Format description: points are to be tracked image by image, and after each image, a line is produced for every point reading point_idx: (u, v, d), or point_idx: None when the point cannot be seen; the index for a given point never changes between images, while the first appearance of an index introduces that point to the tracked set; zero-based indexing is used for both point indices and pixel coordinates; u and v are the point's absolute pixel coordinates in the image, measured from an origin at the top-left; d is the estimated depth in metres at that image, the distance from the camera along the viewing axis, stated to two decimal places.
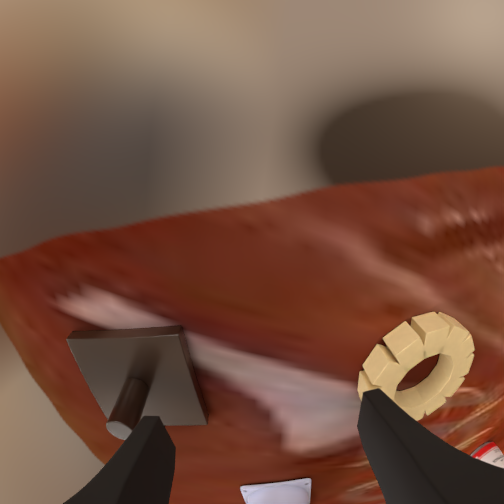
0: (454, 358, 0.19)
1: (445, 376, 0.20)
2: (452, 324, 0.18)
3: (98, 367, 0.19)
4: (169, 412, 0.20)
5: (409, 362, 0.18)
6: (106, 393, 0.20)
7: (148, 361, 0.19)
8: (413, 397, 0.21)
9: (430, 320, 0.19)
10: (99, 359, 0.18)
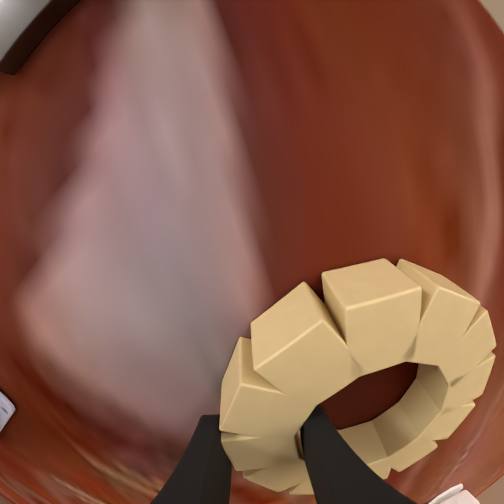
0: (435, 423, 0.09)
1: (381, 448, 0.10)
2: (490, 352, 0.08)
3: None
4: (3, 3, 0.04)
5: (427, 341, 0.07)
6: None
7: None
8: None
9: None
10: None
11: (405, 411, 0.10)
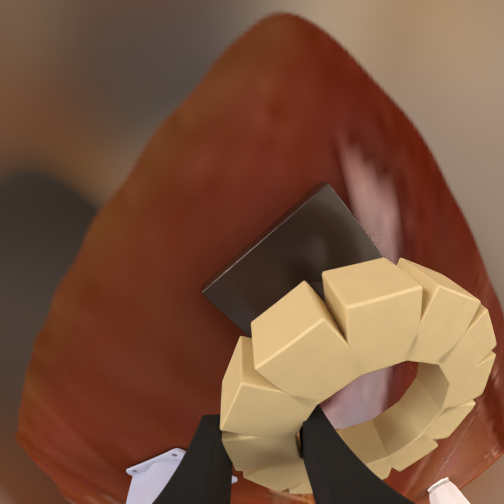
0: (435, 422, 0.09)
1: (381, 448, 0.10)
2: (490, 351, 0.08)
3: (315, 241, 0.16)
4: None
5: (428, 340, 0.07)
6: (270, 268, 0.16)
7: None
8: None
9: None
10: (330, 238, 0.16)
11: (405, 410, 0.10)
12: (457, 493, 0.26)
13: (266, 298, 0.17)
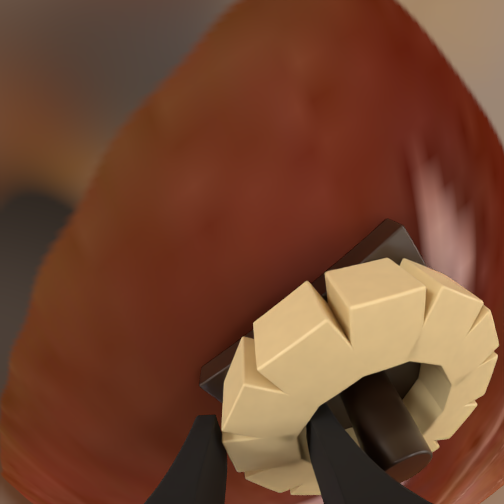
0: (437, 423, 0.08)
1: None
2: (492, 351, 0.08)
3: None
4: None
5: (431, 341, 0.07)
6: None
7: None
8: None
9: None
10: None
11: None
12: None
13: None
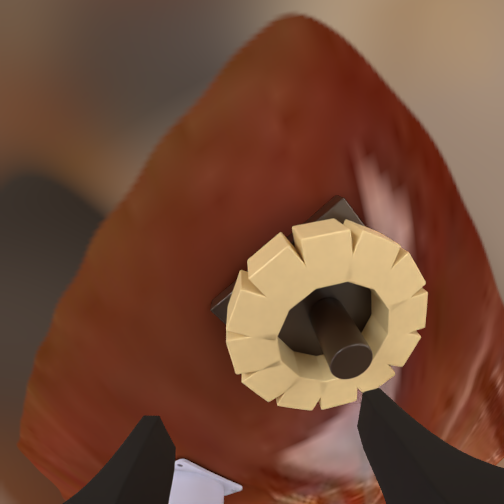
0: (386, 345, 0.14)
1: None
2: (423, 290, 0.14)
3: None
4: None
5: (361, 268, 0.13)
6: None
7: None
8: (288, 357, 0.15)
9: None
10: None
11: None
12: None
13: None
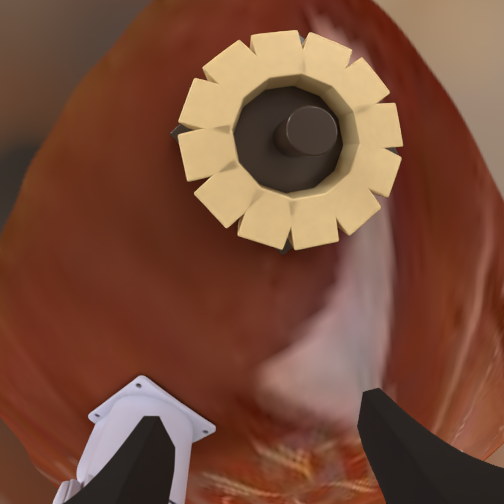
0: (360, 157, 0.13)
1: (320, 191, 0.14)
2: None
3: None
4: None
5: (314, 62, 0.11)
6: None
7: None
8: None
9: None
10: None
11: (338, 168, 0.14)
12: None
13: (238, 138, 0.15)
